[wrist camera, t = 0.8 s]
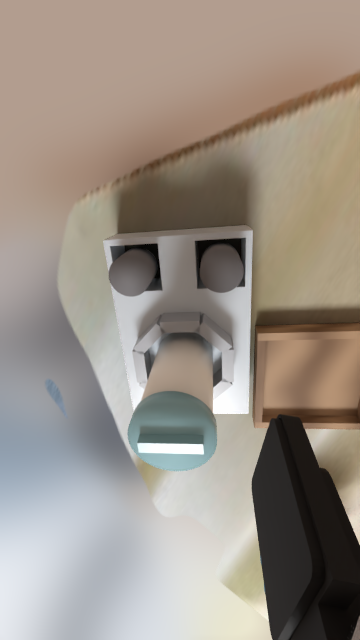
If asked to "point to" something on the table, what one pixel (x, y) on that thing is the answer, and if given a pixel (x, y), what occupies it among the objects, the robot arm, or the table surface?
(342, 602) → the robot arm
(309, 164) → the table surface
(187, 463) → the cylinder
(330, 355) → the tray
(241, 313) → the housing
